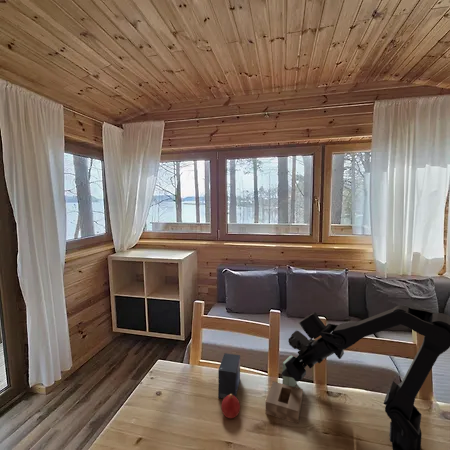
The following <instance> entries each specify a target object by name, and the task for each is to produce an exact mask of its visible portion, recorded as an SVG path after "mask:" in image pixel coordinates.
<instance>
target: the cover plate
mask: <svg viewBox="0 0 450 450" xmlns="http://www.w3.org/2000/svg"><path fill="white" fill-rule="evenodd" d="M293 356H294V355H289V356H288V357H287V358H286V359H285V360H284V361H283V362H282V372H283V371H284V370H285V369H286V366H285V363H286V362H287V361H288V360H289V359H290V358H292V357H293ZM282 384H285V385H288V386H292V387H295V386H297V384H298V382H297V381H295V380H294V378H291V377H285V376H283V375H282Z"/></svg>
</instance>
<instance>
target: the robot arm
mask: <svg viewBox="0 0 450 450" xmlns="http://www.w3.org/2000/svg"><path fill="white" fill-rule="evenodd" d="M298 324H299V326H300V327H301V328H302V330H303V331H304V333H305V334H306V335H307V336H308V337H309V339H308V337H307V336H305V335H304V334H303V333H302V332H301V331H299V330H295V331H294V332H292V334H291V336H290V337H289V338H288V344H289V346H290V347H291V348H293V349H294V350H298V351H297V353H298V355H297V357H296V356H294V355H292V356H293V357H292V358H290V359H289V360H288V361H287V362H286V363H285V366H286V369H285V370H284V371H283V370H282V371H281V375H282V377H283V376H285V377H291V378H294V380H295V381H297V383H299V382H300V381H301V380H303V379H304V377H305V376H306V375H307V370H306V367H308V368H309V369H312V368H313V367H314V366H315V364H317V363H318V364H321V363H322V362H323V361H324V360H325V359H327V358H328V357H330V356H331V355H334V354H335V356H336V357H337V358H338V359H339V360H340V359H342V357H343V356H344V354H345V353H344V351H345V350H348V349H349V348H351V346H353V345H355V344H356V343H357V342H359V341H360V340H362V339H363V338H366V337H369V336H372V335H375V334H377V333H381V332H383V331H385V330H388V329H392V328H394V327H397V326H400V325H402V326H404V327H407V328H409V329H410V330H412V331H413V332H415V333H417V334H418V335H421V336H423V339H422V343H421V345H420V347H419V349H418V351H417V352H416V354H415V356H414V358H413V361H412V362H411V363H410V366H409V368H408V370H407V371H406V374H405V376H404V377H403V380H402V381H401V382H400V383H396V382H395V381H394V380H393V381H392V382H391V385H390V388H389V389H388V390H387V391H386V395H385V397H384V400H383V404H384V405H385V406H384V411H385V413H386V415H387V417H388V418H389V419H390V422H389V441H390V443H391V447H392V448H391V449H392V450H422V449H421V447H422V435H423V434H422V430H421V422H422V413H421V412H420V411H419V410H418V408H417V407H416V406H415V401H416V398H417V396H418V394H419V392H420V390H421V388H422V386H423V385H424V384H425V381H426V379H427V377H428V375H429V374H430V372H431V370H432V369H433V366H434V365H435V364H436V361H437V360H438V358H439V356H441V355H442V354H443V353H445V352H447V350H448V349H450V315H448V314H445V313H441V312H436V313H435V312H432V311H429V310H425V309H419V308H414V307H410V306H406V305H404V304H398V305H397V306H395V307H393V308H390V309H389V310H385V311H383V312H380V313H378V314H375V315H373V316H370V317H367V318H364V319H362V320H359V321H347V322H342V323H339V324H335V323H327V324H326V325H325V323H324V322H323V321H322V320H321V318H320V317H319V315H318V313H316V311H314V312H313V313H311V314H309V315H306V316H305V317H304V318H303V319H301V321H299V322H298Z"/></svg>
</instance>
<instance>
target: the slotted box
mask: <svg viewBox="0 0 450 450" xmlns="http://www.w3.org/2000/svg"><path fill="white" fill-rule="evenodd" d="M303 392H304V389H303V388H299V387H295V386H294V387H292V386H288V385H285V384H283V383H281V382H276V381H272V383H271V385H270V389H269V391H268V394H267V396H266V399H265V414H266V415H270V416H272V417H275V418H279V419H282V420H286V421H287V422H288V421H289V422H290V423H294V424H297V425H298V424H299V420H300V415H301V410H302V406H303V396H304V394H303Z"/></svg>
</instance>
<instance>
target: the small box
mask: <svg viewBox="0 0 450 450" xmlns="http://www.w3.org/2000/svg"><path fill="white" fill-rule="evenodd" d="M217 370H218V373H217V375H218V376H217V377H218V382H217V383H218V387H217V388H218V393H217V394H218V395H217V398H218V399H222V400H223V399H224V398H225V397H226V396H227V395H230V394H232V395H234V396H235V397H236V398H237V395H238V391H239V387H240V386H239V385H240V381H241V355H239V354H233V353H227V352H225V353H223V356H222V359H221V361H220V365H219V367H218V369H217Z"/></svg>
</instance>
